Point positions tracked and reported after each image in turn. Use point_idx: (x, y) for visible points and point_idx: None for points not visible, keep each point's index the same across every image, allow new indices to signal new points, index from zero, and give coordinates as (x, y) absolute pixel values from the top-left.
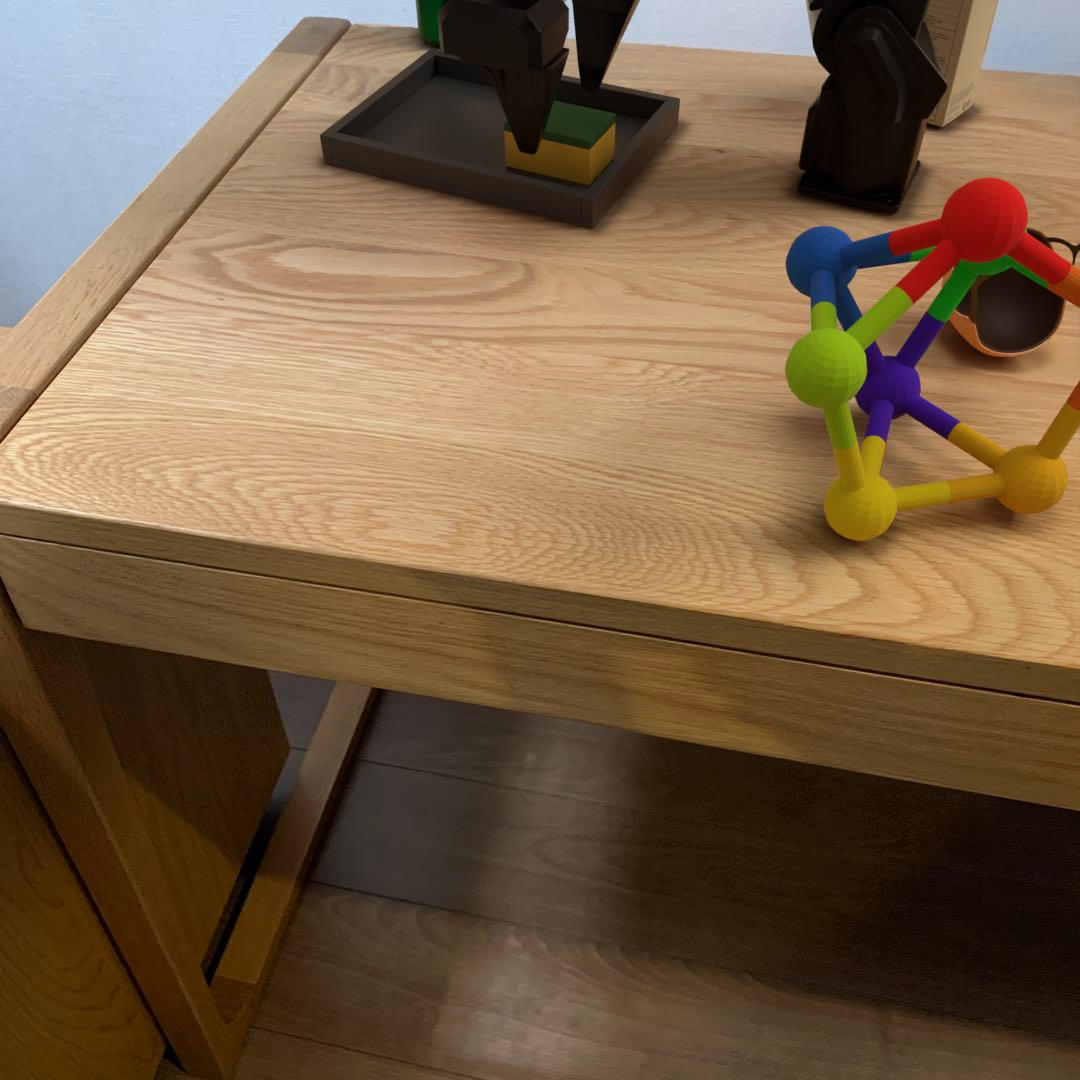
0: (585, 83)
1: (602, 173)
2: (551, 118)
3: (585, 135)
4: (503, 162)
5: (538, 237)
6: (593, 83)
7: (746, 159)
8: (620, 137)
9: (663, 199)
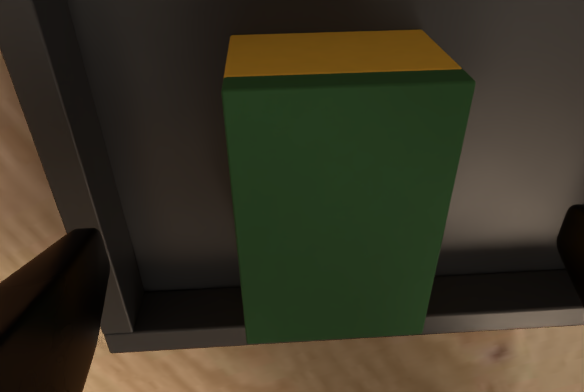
0: (577, 228)
1: (223, 328)
2: (323, 219)
3: (270, 325)
4: (249, 14)
5: (27, 234)
6: (572, 254)
7: (480, 386)
8: (491, 224)
9: (296, 344)
